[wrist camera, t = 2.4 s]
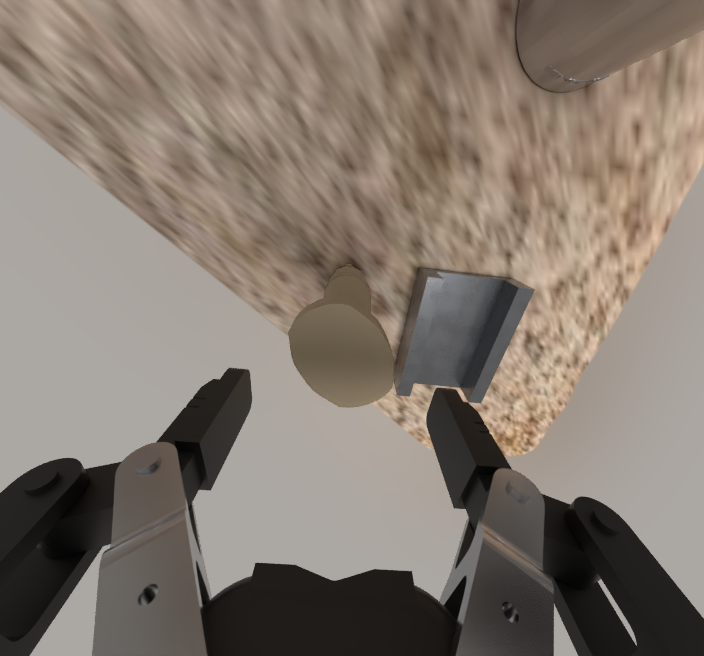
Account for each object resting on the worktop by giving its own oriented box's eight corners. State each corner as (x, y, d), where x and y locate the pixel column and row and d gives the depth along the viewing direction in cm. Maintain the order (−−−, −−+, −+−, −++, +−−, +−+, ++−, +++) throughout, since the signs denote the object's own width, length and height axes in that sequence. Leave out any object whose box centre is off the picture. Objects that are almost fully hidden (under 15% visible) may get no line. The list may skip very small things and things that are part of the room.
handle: (356, 238, 24) (359, 287, 11) (381, 295, 27) (409, 389, 14) (313, 260, 25) (268, 329, 12) (341, 312, 28) (331, 417, 15)
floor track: (418, 267, 26) (427, 276, 22) (513, 278, 26) (534, 289, 23) (392, 376, 32) (397, 395, 29) (468, 383, 32) (480, 403, 29)
